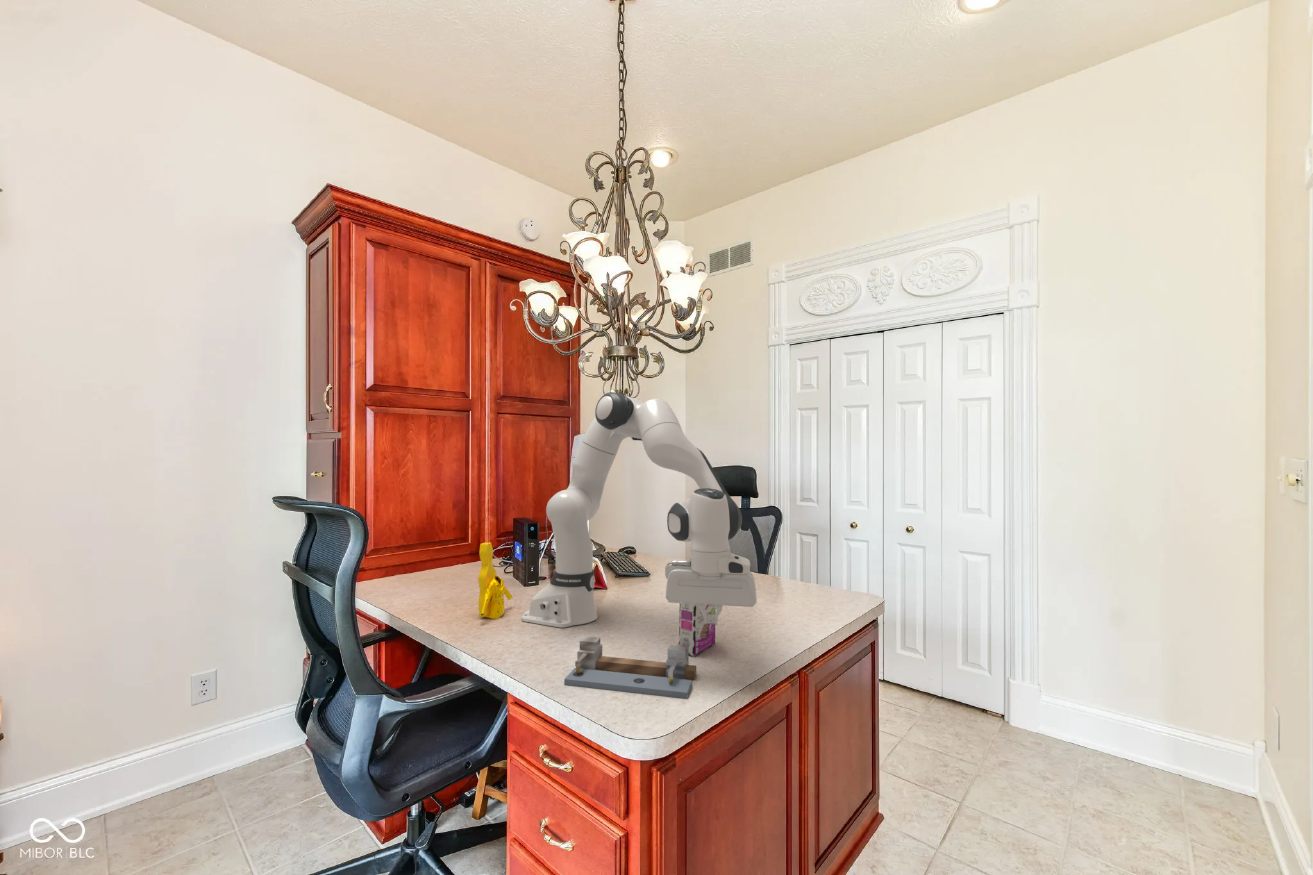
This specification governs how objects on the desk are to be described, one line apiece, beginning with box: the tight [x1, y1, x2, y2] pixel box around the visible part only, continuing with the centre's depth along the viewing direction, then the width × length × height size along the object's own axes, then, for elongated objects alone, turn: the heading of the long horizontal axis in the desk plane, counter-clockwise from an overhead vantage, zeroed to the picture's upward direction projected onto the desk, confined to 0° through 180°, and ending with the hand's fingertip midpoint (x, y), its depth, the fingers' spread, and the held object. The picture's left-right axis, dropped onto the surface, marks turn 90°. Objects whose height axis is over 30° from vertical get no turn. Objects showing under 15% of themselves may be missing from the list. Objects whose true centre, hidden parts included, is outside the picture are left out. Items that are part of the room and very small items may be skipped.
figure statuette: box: [477, 542, 513, 620], centre depth 163 cm, size 18×8×22 cm, turn 167°
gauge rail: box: [574, 635, 697, 681], centre depth 121 cm, size 27×11×6 cm, turn 77°
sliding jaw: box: [665, 643, 690, 683], centre depth 118 cm, size 4×11×6 cm, turn 167°
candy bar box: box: [678, 603, 717, 657], centre depth 137 cm, size 11×5×16 cm, turn 146°
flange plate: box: [563, 667, 693, 700], centre depth 116 cm, size 27×6×1 cm, turn 77°
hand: (711, 623), depth 120 cm, fingers closed
